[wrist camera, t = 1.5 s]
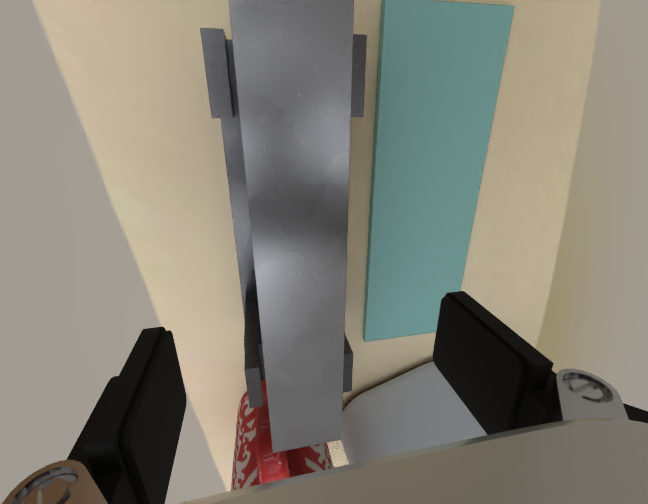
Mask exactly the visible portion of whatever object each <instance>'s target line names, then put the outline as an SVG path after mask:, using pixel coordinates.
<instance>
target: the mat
mask: <svg viewBox="0 0 648 504" xmlns="http://www.w3.org/2000/svg"><path fill="white" fill-rule="evenodd" d="M513 11H514V6H506V5H491V4H476V3H460V2H445V1H430V0H382V10H381V27H380V45H379V62H378V80H377V98H376V115H375V133H374V150H373V168H372V186H371V203H370V221H369V238H368V256H367V274H366V291H365V309H364V326H363V339H364V341H365V342H368V341H375V340H382V339H389V338H396V337H403V336H410V335H417V334H424V333H431V332H436V331H437V324H438V317H439V311H440V304H441V299H442V298H443V297H445V295H446V293H449V292H457V291H460V288H461V283H462V278H463V272H464V267H465V262H466V257H467V251H468V246H469V241H470V236H471V231H472V225H473V220H474V215H475V210H476V205H477V199H478V194H479V189H480V184H481V178H482V173H483V168H484V163H485V158H486V152H487V147H488V142H489V137H490V131H491V126H492V121H493V116H494V111H495V105H496V100H497V95H498V90H499V84H500V79H501V74H502V69H503V64H504V58H505V53H506V48H507V43H508V37H509V32H510V27H511V22H512V17H513Z"/></svg>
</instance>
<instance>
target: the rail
mask: <svg viewBox="0 0 648 504" xmlns="http://www.w3.org/2000/svg"><path fill="white" fill-rule="evenodd" d="M229 10H230V20H231V31H232V41H233V51H234V61H235V71H236V82H237V92H238V102H239V112H240V122H241V133H242V143H243V153H244V163H245V173H246V184H247V194H248V204H249V214H250V225H251V235H252V245H253V255H254V265H255V276H256V286H257V296H258V306H259V316H260V327H261V337H262V347H263V357H264V367H265V378H266V388H267V398H268V408H269V418H270V429H271V439H272V449H273V453H275V452H280V451H286V450H291V449H296V448H301V447H306V446H311V445H316V444H321V443H326V442H331V441H336V440H341V435H342V400H343V365H344V329H345V294H346V259H347V224H348V189H349V153H350V118H351V83H352V48H353V13H354V0H229Z"/></svg>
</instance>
